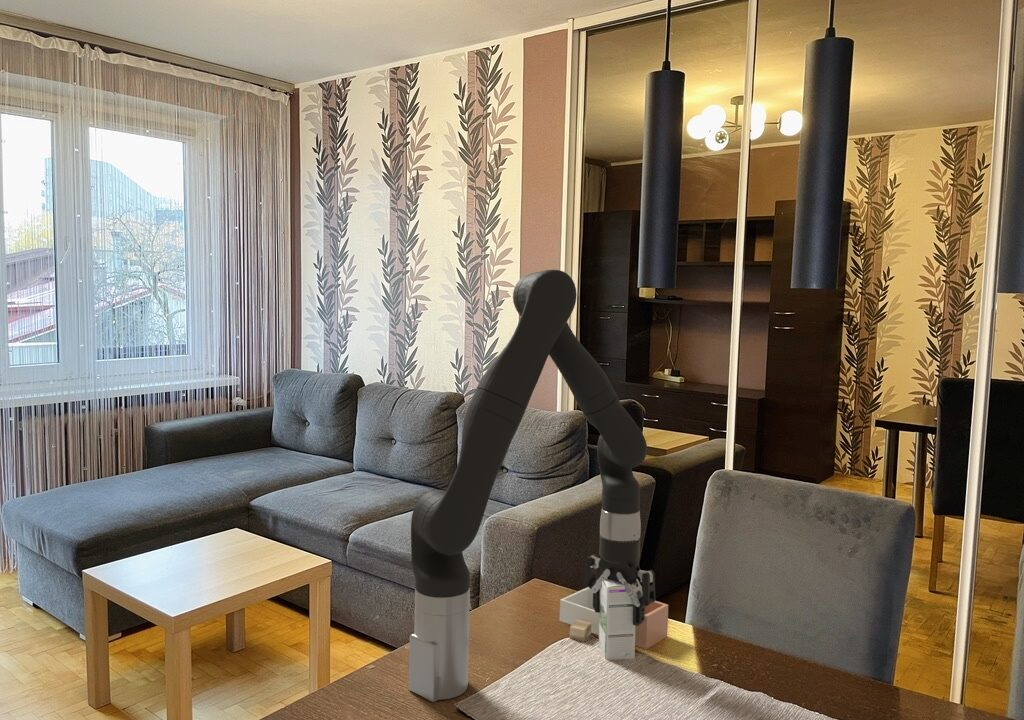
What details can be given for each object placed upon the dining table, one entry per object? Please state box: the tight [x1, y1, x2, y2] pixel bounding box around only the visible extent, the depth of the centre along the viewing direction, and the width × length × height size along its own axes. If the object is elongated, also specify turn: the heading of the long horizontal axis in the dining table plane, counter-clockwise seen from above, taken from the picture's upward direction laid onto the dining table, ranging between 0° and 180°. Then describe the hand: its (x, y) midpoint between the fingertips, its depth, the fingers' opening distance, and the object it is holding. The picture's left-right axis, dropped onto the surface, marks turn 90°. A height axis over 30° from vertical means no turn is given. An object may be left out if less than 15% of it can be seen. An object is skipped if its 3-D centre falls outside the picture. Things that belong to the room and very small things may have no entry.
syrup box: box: [598, 579, 636, 661], centre depth 139 cm, size 6×6×14 cm
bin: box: [558, 587, 599, 636], centre depth 154 cm, size 10×10×5 cm
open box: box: [635, 600, 669, 650], centre depth 146 cm, size 8×8×7 cm
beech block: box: [569, 620, 592, 642], centre depth 146 cm, size 4×3×3 cm
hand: (618, 617), depth 139 cm, fingers open, 8 cm apart
